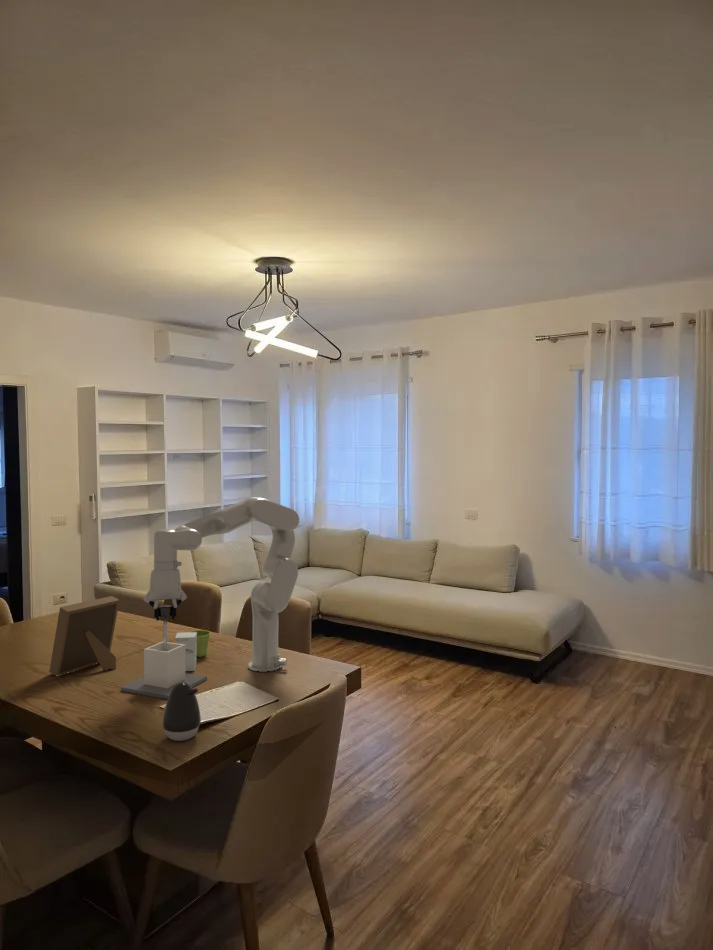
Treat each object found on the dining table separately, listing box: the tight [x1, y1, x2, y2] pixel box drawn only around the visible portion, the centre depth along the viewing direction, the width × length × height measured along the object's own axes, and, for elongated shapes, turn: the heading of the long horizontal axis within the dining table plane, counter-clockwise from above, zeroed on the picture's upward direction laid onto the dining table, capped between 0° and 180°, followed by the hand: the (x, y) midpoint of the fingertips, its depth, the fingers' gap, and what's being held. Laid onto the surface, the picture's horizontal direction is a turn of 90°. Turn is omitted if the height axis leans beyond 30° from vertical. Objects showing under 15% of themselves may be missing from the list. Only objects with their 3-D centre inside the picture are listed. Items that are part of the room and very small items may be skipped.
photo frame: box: [49, 595, 120, 676], centre depth 229 cm, size 15×22×25 cm
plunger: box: [158, 604, 172, 651], centre depth 214 cm, size 7×7×17 cm
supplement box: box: [174, 631, 197, 672], centre depth 232 cm, size 7×7×13 cm
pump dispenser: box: [162, 682, 202, 742], centre depth 175 cm, size 10×10×15 cm
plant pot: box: [190, 629, 212, 658], centre depth 248 cm, size 9×9×9 cm
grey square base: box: [120, 641, 208, 700], centre depth 215 cm, size 20×20×13 cm
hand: (165, 618), depth 214 cm, fingers closed on plunger, 4 cm apart
